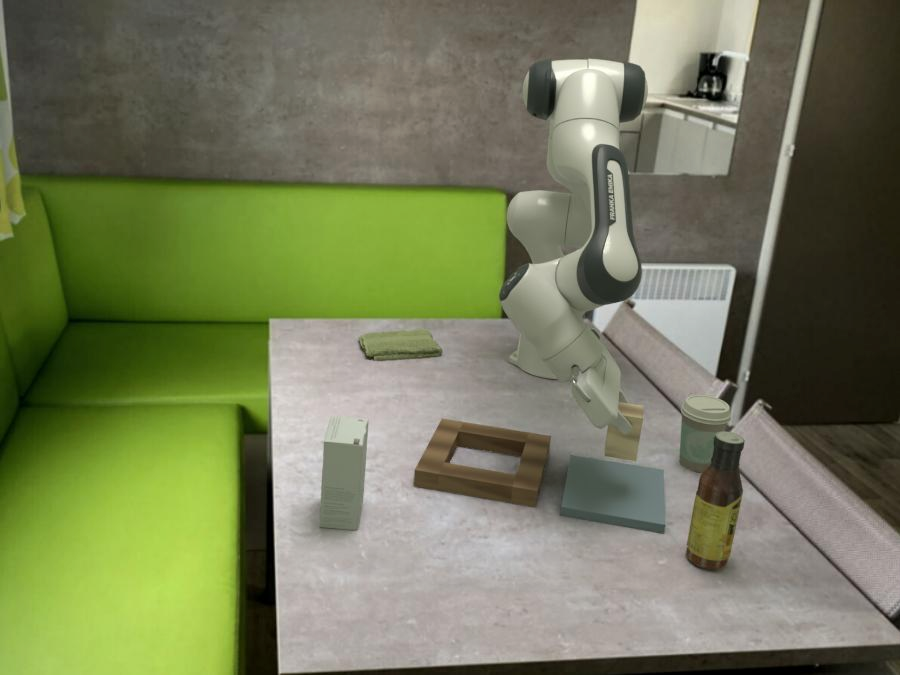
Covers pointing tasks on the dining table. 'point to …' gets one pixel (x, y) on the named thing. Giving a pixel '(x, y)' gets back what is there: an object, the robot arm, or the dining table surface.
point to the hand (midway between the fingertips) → (629, 422)
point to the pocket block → (482, 482)
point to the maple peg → (625, 443)
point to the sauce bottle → (717, 505)
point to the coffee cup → (701, 429)
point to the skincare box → (343, 473)
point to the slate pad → (615, 493)
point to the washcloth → (400, 345)
